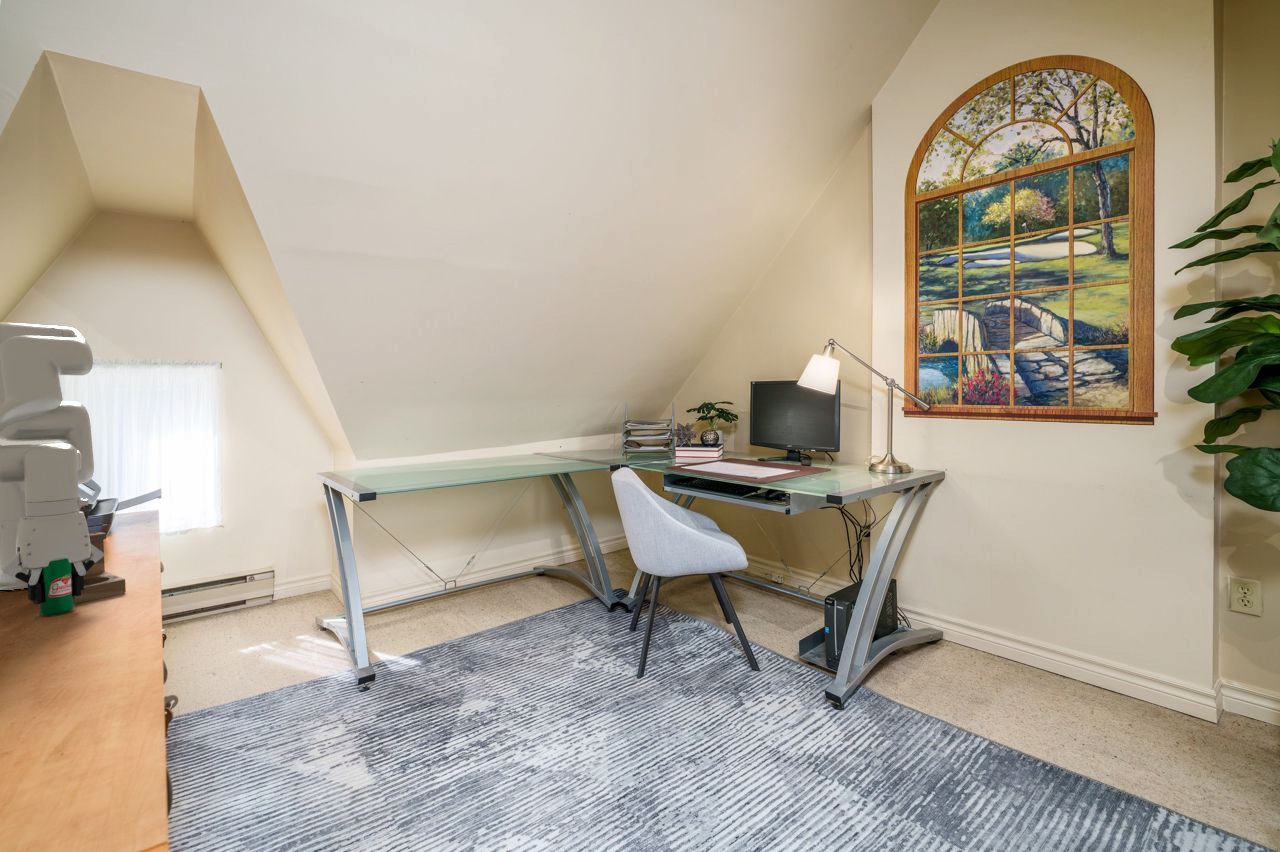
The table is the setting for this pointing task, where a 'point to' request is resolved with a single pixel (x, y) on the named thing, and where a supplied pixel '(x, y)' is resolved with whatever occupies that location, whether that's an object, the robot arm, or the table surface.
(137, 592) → the table surface
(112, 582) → the socket block
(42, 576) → the soda can
